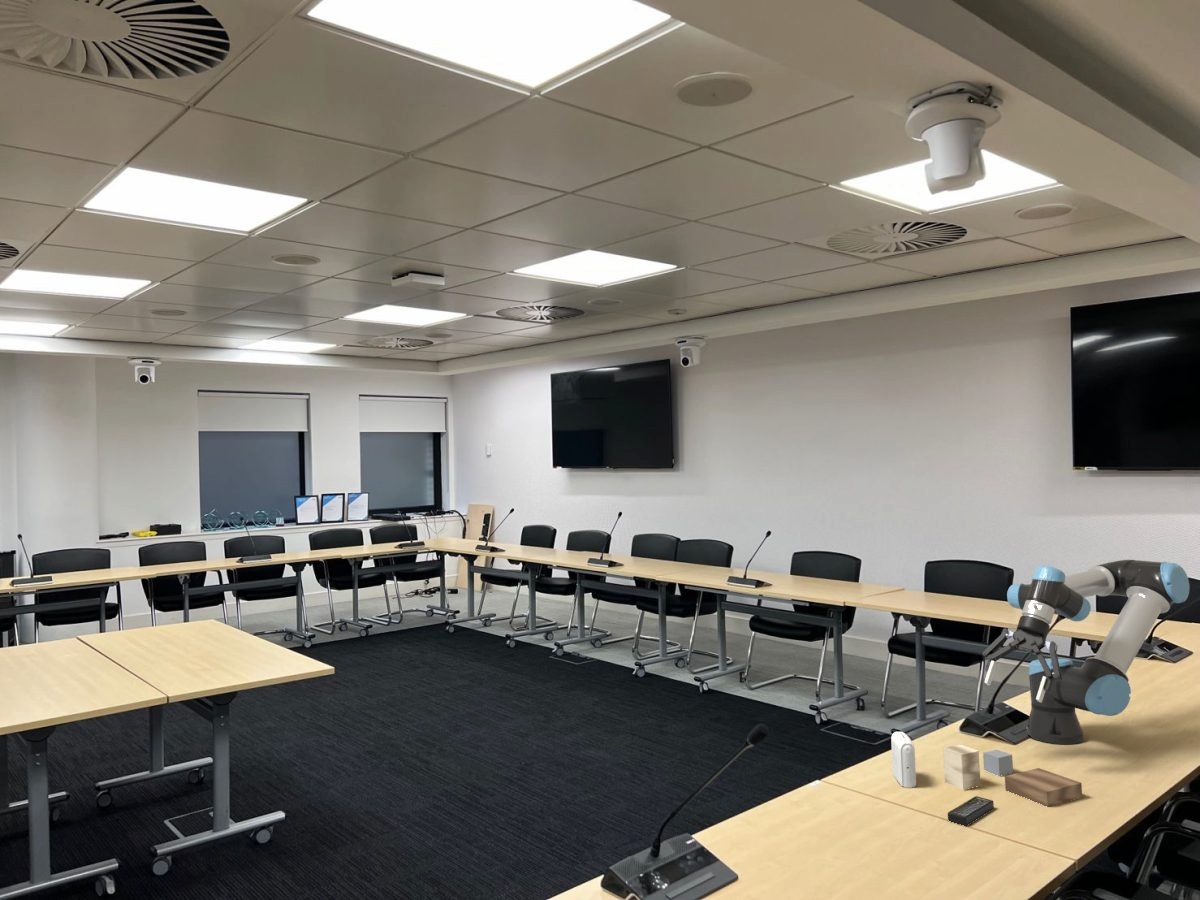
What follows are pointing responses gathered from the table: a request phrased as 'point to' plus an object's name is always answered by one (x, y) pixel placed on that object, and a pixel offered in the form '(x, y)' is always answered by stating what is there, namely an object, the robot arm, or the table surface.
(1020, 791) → the walnut base block
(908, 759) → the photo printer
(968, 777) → the ash block
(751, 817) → the table surface
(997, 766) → the slate grey block
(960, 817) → the multiport hub
